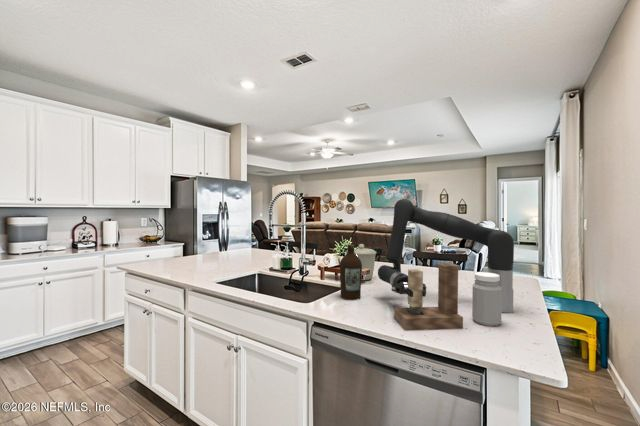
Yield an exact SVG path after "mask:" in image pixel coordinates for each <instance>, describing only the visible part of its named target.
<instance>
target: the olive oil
mask: <svg viewBox="0 0 640 426" xmlns="http://www.w3.org/2000/svg"><path fill="white" fill-rule="evenodd" d="M354 248H355V245H354V244H347V248H346V249H347V250H346V253H345V255H343V257H342V258H341V260H340V261H339V278H340V279H339V280H340V297H341V299H343V300H349V301H350V300H351V301H354V300H355V301H356V300H359V299H360V298H361V293H362V288H361V287H362V280H361V274H362V263H361V260H360V259H359V258H358V257H357V256H356V254H355V253H354Z"/></svg>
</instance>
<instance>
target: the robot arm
mask: <svg viewBox="0 0 640 426" xmlns="http://www.w3.org/2000/svg"><path fill="white" fill-rule="evenodd" d="M393 210H394V211H393V221H392V227H391V228H392V229H391V234H390V238H389V241H388V245H387V250H386V254H385V260H387V261H389V262H391V263H392V266H389V265H386V264H383V265H380V266H379V268H378V269H377V276H378V278H379V280H380V281H383V282H385V283H387V284H389V285H390V286H391V291H392V292H394V293H397V294H399V295H405V296H408V295H409V296H410V297H413V291H412V290H411V289H408V274H406V273H404V272H402V268H401V267H402V266H401V264H402V263H401V262H402V261H401V260H402V255H403V252H404V246H405V239H406V238H405V236H406V229H407V226H408V222H410V223H414V224H418V225H422V226H423V227H424V226H425V227H426V228H428V229H431V230H434V231H436V232H439V233H441V234H444V235H445V236H450V237H453V238H458V239H461V240H467V241H468V240H469V241H473V242H475V243H478V244H481V245H483V246H485V247H487V267H488V273H495V274H498V275H499V276H500V281H498V282H499V283H500V284H499V286H500V287H501V289H502V313H504V314H505V313H508V314H509V313H510V314H511V313H514V288H513V287H514V286H513V284H514V283H513V281H514V277H513V276H514V275H513V274H514V272H513V271H514V260H515V259H514V256H515V253H514V252H515V250H514V249H515V241H514V238H513V236H512V235H511V234H510V233H509V232H507V231H505V230H502V229H501V230H500V229H494V228H490V227H485V226H483V225H482V226H481V225H479V224H477V223H474V222H472V221H470V220H467V219H464V218H462V217H459V216H456V215H453V214H450V213H447V212H442V211H441V212H440V211H431V210H428V209H427V210H426V209H423V208H421V207H418V206H416V205H414V204H413V202H412V201H411V200H409V199H407V198H400V199H399V200H397V201H396V203H395V204H394V207H393ZM426 296H427V286H426V283H424V282H423V298H424V297H426Z"/></svg>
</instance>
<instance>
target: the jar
mask: <svg viewBox="0 0 640 426" xmlns="http://www.w3.org/2000/svg"><path fill="white" fill-rule="evenodd" d="M498 281H500V276H499V275H498V274H495V273H488V272H482V271H481V272H480V271H479V272H478V271H477V272H474V283H473V284H472V298H471V299H472V303H471V304H472V312H471V313H472V314H471V315H472V316H471V317H472V320H473V321H474V322H475V323H477V324H479V325H482V326H487V327H496V326H499V325H501V324H502V313H503V312H502V289H501V287H500V286H499V284H500V283H499V282H498Z"/></svg>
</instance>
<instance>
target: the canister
mask: <svg viewBox="0 0 640 426" xmlns="http://www.w3.org/2000/svg"><path fill="white" fill-rule="evenodd" d="M357 248H358V249H357V250H356V251H354V253H355V254H356V253H358V254H357V255H358V258H359V259H360V260H361V263H362V269H364V268H370V269H371V272H370V274H368V275H366V276H365V280H364V281H368V280H372V278H373V276H374V270H375V261H376V254H377V251H375V250H374V249H372V248H365V244H363V243H360V244H358V247H357Z"/></svg>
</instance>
